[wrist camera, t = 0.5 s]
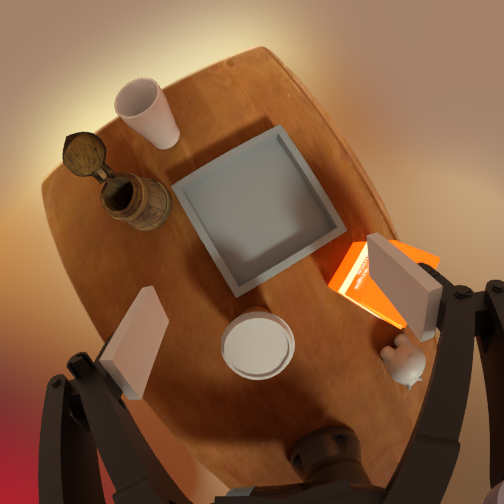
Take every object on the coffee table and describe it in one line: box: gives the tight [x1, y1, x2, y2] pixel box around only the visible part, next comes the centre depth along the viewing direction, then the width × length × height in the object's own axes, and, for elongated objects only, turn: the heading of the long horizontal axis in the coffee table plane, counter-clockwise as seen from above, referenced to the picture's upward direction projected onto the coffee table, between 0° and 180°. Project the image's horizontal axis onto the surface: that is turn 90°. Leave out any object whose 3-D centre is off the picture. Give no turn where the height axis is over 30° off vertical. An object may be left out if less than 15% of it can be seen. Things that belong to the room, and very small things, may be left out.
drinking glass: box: [115, 78, 180, 149], centre depth 36 cm, size 7×7×15 cm
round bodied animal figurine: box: [380, 334, 425, 390], centre depth 41 cm, size 7×12×8 cm, turn 32°
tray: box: [171, 125, 347, 298], centre depth 42 cm, size 20×20×4 cm
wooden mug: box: [63, 132, 172, 231], centre depth 35 cm, size 9×14×18 cm, turn 39°
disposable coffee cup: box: [221, 306, 295, 380], centre depth 38 cm, size 10×10×12 cm
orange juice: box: [328, 240, 440, 329], centre depth 34 cm, size 8×9×20 cm
